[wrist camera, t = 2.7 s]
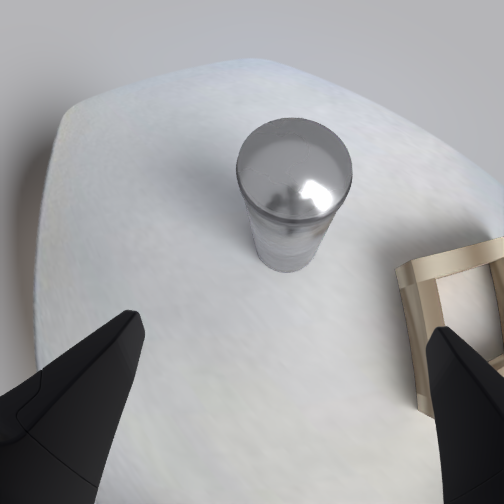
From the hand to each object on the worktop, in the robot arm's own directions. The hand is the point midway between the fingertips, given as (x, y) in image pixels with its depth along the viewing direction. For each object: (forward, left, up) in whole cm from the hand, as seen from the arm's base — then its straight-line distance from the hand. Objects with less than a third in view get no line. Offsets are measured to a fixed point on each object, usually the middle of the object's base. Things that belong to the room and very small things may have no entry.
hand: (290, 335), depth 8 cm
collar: (+15, -3, -12) cm, 19 cm away
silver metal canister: (+2, +6, -12) cm, 14 cm away
